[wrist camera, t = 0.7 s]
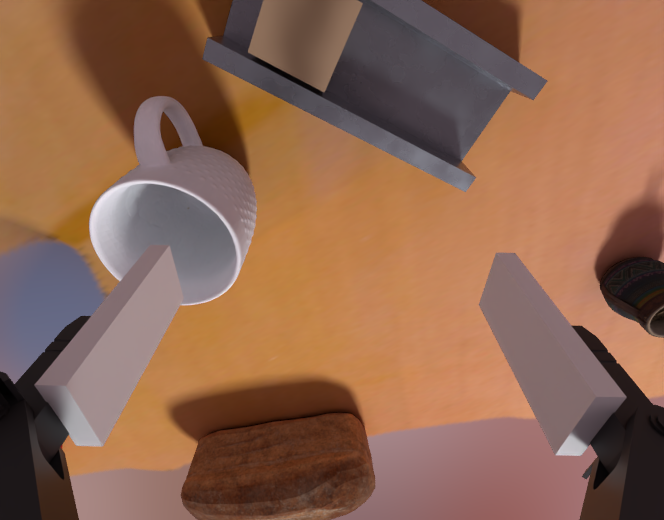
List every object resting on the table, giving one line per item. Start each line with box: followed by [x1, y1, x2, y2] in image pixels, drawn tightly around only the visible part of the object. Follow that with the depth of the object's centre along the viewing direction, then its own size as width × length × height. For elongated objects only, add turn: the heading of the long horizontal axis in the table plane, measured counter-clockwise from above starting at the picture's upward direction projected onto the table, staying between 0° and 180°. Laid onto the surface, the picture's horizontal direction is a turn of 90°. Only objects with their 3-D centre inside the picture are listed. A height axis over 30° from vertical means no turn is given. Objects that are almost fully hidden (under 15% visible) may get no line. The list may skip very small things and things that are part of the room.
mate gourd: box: [600, 257, 664, 337], centre depth 39 cm, size 7×8×10 cm
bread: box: [181, 413, 375, 520], centre depth 58 cm, size 12×31×14 cm, turn 106°
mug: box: [89, 96, 257, 305], centre depth 31 cm, size 15×11×13 cm
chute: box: [202, 0, 547, 192], centre depth 29 cm, size 24×10×5 cm, turn 64°
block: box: [248, 0, 363, 92], centre depth 27 cm, size 6×6×4 cm
